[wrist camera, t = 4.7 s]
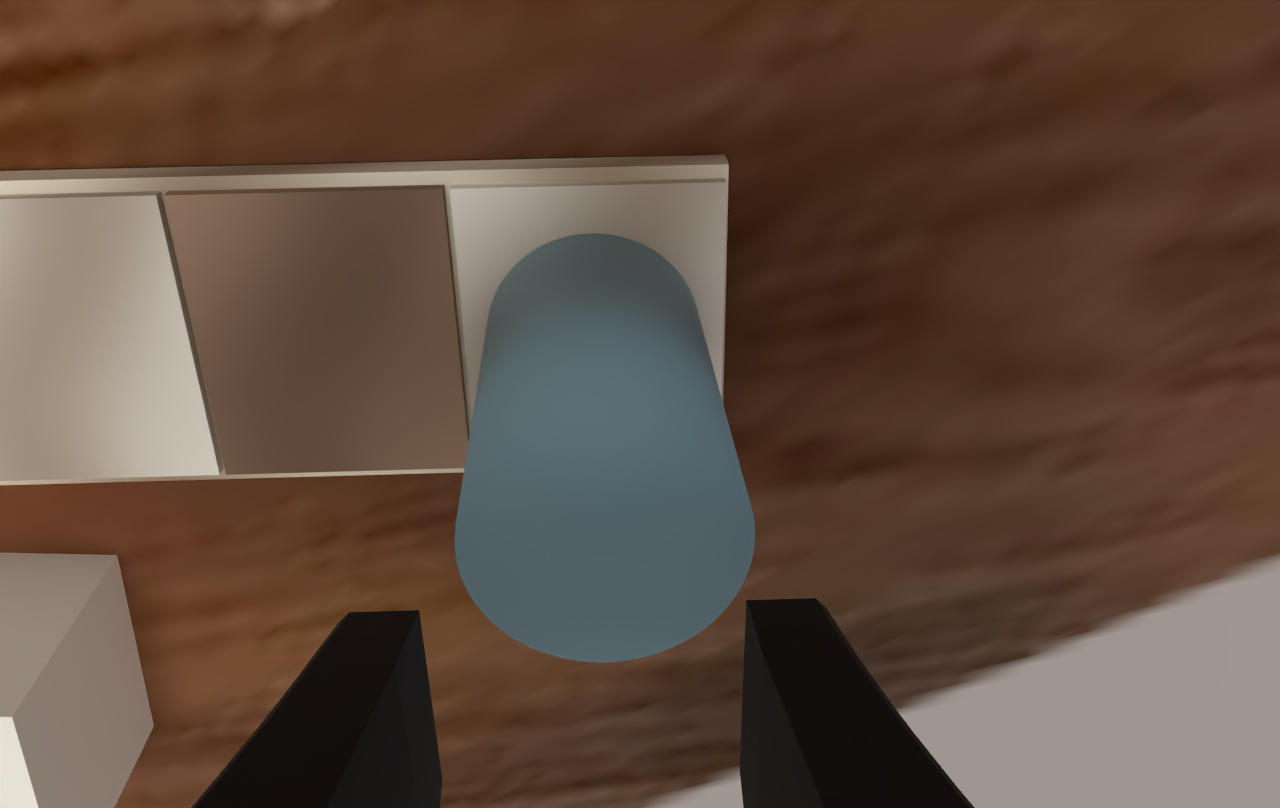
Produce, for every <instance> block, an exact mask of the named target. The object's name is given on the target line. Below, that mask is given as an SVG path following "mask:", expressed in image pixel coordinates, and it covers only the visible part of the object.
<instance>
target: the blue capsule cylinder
mask: <svg viewBox="0 0 1280 808" xmlns="http://www.w3.org/2000/svg"><path fill="white" fill-rule="evenodd" d="M454 545H455V554H456V561H457V565H458V569H459V573H460V576H461V578H462V581H463V583H464V585H465V588H466V590H467V592H468V593H469V595H470V596H471V598H472V600H473V601H474V603H475V604H476V606H477V607H478V608H479V609H480V610H481V612H482V613H483V614H484V615H485V616H486V618H488V619H489V620H490V621H491V622H492V623H493V624H494V625H495V626H496V627H497V628H499V629H500V630H501V631H503V632H504V633H506V634H507V635H508V636H510V637H511V638H513V639H514V640H516V641H518V642H520V643H522V644H524V645H526V646H528V647H530V648H532V649H535V650H537V651H540V652H542V653H545V654H548V655H552V656H555V657H559V658H563V659H568V660H575V661H581V662H597V663H603V662H620V661H627V660H634V659H639V658H643V657H647V656H651V655H654V654H657V653H660V652H663V651H665V650H668V649H671V648H673V647H675V646H677V645H679V644H681V643H683V642H685V641H687V640H689V639H690V638H692V637H693V636H695V635H696V634H698V633H699V632H701V631H703V630H704V629H705V628H706V627H707V626H709V625H710V624H711V623H712V622H713V621H715V620H716V619H717V618H718V617H719V616H720V615H721V614H722V613H723V612H724V610H725V609H726V608H727V607H728V606H729V605H730V603H731V602H732V601H733V599H734V598H735V596H736V595H737V594H738V592H739V590H740V588H741V586H742V585H743V583H744V581H745V579H746V576H747V574H748V571H749V568H750V565H751V562H752V557H753V552H754V547H755V524H754V515H753V511H752V508H751V504H750V500H749V497H748V493H747V489H746V486H745V482H744V478H743V475H742V471H741V468H740V464H739V460H738V457H737V453H736V449H735V446H734V442H733V438H732V435H731V431H730V427H729V424H728V420H727V416H726V413H725V409H724V405H723V402H722V398H721V394H720V391H719V387H718V384H717V380H716V376H715V373H714V369H713V365H712V362H711V358H710V354H709V351H708V347H707V343H706V340H705V336H704V332H703V329H702V325H701V321H700V318H699V314H698V310H697V307H696V303H695V300H694V298H693V295H692V293H691V291H690V288H689V287H688V285H687V284H686V282H685V280H684V279H683V277H682V276H681V275H680V273H679V272H678V271H677V270H676V269H675V267H674V266H673V265H672V264H670V263H669V262H668V261H667V260H666V259H665V258H664V257H662V256H661V255H660V254H658V253H657V252H655V251H654V250H652V249H650V248H649V247H647V246H645V245H643V244H641V243H638V242H636V241H633V240H630V239H628V238H624V237H619V236H615V235H608V234H580V235H574V236H568V237H565V238H561V239H558V240H555V241H552V242H550V243H548V244H545V245H543V246H541V247H539V248H538V249H536V250H534V251H533V252H531V253H529V254H528V255H527V256H526V257H524V258H523V259H522V260H521V261H519V262H518V263H517V264H516V265H515V266H514V267H513V268H512V269H511V270H510V271H509V273H508V274H507V275H506V277H505V278H504V280H503V281H502V282H501V284H500V286H499V288H498V290H497V291H496V293H495V296H494V298H493V301H492V304H491V306H490V311H489V316H488V321H487V327H486V333H485V340H484V346H483V353H482V359H481V365H480V372H479V378H478V385H477V391H476V398H475V404H474V410H473V417H472V423H471V430H470V436H469V442H468V449H467V455H466V462H465V468H464V475H463V481H462V487H461V494H460V500H459V507H458V513H457V519H456V526H455V542H454Z"/></svg>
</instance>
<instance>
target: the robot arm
mask: <svg viewBox="0 0 1280 808" xmlns="http://www.w3.org/2000/svg"><path fill="white" fill-rule="evenodd" d="M740 776H741V785H742V795H743V804H744V808H974V807H973V805H972V804H971V803H970V802H969V801H968V800H967V798H966V797H965V796H964V795H963V794H962V793H961V791H960V790H959V789H958V788H957V786H956V785H955V784H954V783H953V782H952V780H951V779H950V778H949V776H948V775H947V774H946V773H945V771H944V770H943V769H942V768H941V766H940V765H939V764H938V763H937V761H936V760H935V759H934V758H933V756H932V755H931V754H930V753H929V751H928V750H927V749H926V748H925V746H924V745H923V744H922V743H921V741H920V740H919V739H918V738H917V737H916V735H915V734H914V733H913V731H912V730H911V729H910V728H909V726H908V725H907V723H906V722H905V721H904V720H903V718H902V717H901V716H900V714H899V713H898V712H897V710H896V709H895V708H894V706H893V705H892V704H891V702H890V701H889V699H888V698H887V697H886V695H885V694H884V692H883V691H882V690H881V688H880V687H879V686H878V684H877V683H876V681H875V680H874V679H873V677H872V676H871V675H870V673H869V672H868V670H867V669H866V667H865V666H864V664H863V663H862V662H861V660H860V659H859V657H858V656H857V654H856V653H855V651H854V650H853V648H852V647H851V645H850V644H849V642H848V641H847V639H846V638H845V636H844V635H843V633H842V632H841V630H840V629H839V627H838V626H837V624H836V622H835V621H834V619H833V618H832V616H831V614H830V613H829V611H828V610H827V608H826V607H824V606H823V605H822V604H821V603H820V602H819V601H818V600H817V599H816V598H811V599H778V600H746V626H745V651H744V677H743V703H742V729H741V755H740ZM441 788H442V774H441V767H440V760H439V752H438V745H437V738H436V730H435V723H434V716H433V709H432V701H431V694H430V687H429V679H428V672H427V665H426V658H425V650H424V643H423V636H422V629H421V621H420V614H419V610H414V611H381V612H349V613H348V614H347V615H346V616H345V617H344V618H343V619H342V620H341V621H340V622H339V623H338V624H337V626H336V627H335V628H334V630H333V631H332V632H331V634H330V635H329V636H328V638H327V639H326V640H325V642H324V643H323V644H322V646H321V647H320V648H319V650H318V651H317V652H316V654H315V655H314V656H313V657H312V659H311V660H310V661H309V663H308V664H307V665H306V667H305V668H304V669H303V671H302V672H301V673H300V675H299V676H298V677H297V679H296V680H295V681H294V682H293V684H292V685H291V686H290V688H289V689H288V690H287V692H286V693H285V694H284V695H283V697H282V698H281V699H280V701H279V702H278V703H277V704H276V706H275V707H274V708H273V709H272V711H271V712H270V713H269V714H268V716H267V717H266V718H265V720H264V721H263V722H262V723H261V725H260V726H259V727H258V728H257V730H256V731H255V732H254V733H253V735H252V736H251V737H250V738H249V739H248V741H247V742H246V743H245V744H244V745H243V747H242V748H241V749H240V750H239V751H238V753H237V754H236V755H235V756H234V757H233V759H232V760H231V761H230V762H229V763H228V765H227V766H226V767H225V768H224V769H223V771H222V772H221V773H220V774H219V775H218V777H217V778H216V779H215V780H214V781H213V783H212V784H211V785H210V786H209V787H208V789H207V790H206V791H205V792H204V794H203V795H202V796H201V797H200V798H199V799H198V800H197V802H196V803H195V804H194V805H193V806H192V807H191V808H440V798H441Z"/></svg>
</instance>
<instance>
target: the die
mask: <svg viewBox="0 0 1280 808" xmlns="http://www.w3.org/2000/svg"><path fill="white" fill-rule="evenodd" d="M153 727H154V725H153V720H152V715H151V711H150V706H149V701H148V697H147V692H146V687H145V683H144V678H143V673H142V669H141V664H140V659H139V655H138V650H137V645H136V641H135V636H134V631H133V627H132V622H131V617H130V613H129V608H128V603H127V599H126V594H125V589H124V585H123V580H122V575H121V570H120V566H119V561H118V556H117V555H91V554H43V553H0V808H114V807H115V805H116V803H117V801H118V799H119V797H120V795H121V793H122V790H123V788H124V786H125V784H126V782H127V780H128V778H129V776H130V774H131V772H132V770H133V768H134V766H135V764H136V762H137V760H138V758H139V756H140V754H141V752H142V749H143V747H144V745H145V743H146V741H147V739H148V737H149V735H150V733H151V731H152V729H153Z"/></svg>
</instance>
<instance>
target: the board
mask: <svg viewBox="0 0 1280 808" xmlns="http://www.w3.org/2000/svg"><path fill="white" fill-rule="evenodd" d="M728 176H729V164H728V161H727V158H726V155H688V156H644V157H600V158H555V159H511V160H467V161H422V162H378V163H334V164H289V165H245V166H201V167H156V168H112V169H68V170H23V171H0V485H27V484H62V483H98V482H134V481H170V480H206V479H242V478H278V477H313V476H349V475H385V474H421V473H457V472H464V468H465V462H466V455H467V449H468V442H469V436H470V430H471V423H472V417H473V410H474V404H475V398H476V391H477V385H478V378H479V372H480V365H481V359H482V353H483V346H484V340H485V333H486V327H487V321H488V316H489V311H490V306H491V304H492V301H493V298H494V296H495V293H496V291H497V290H498V288H499V286H500V284H501V282H502V281H503V280H504V278H505V277H506V275H507V274H508V273H509V271H510V270H511V269H512V268H513V267H514V266H515V265H516V264H517V263H518V262H519V261H521V260H522V259H523V258H524V257H526V256H527V255H528V254H529V253H531V252H533V251H534V250H536V249H538V248H539V247H541V246H543V245H545V244H548V243H550V242H552V241H555V240H558V239H561V238H565V237H568V236H574V235H580V234H608V235H615V236H619V237H624V238H628V239H630V240H633V241H636V242H638V243H641V244H643V245H645V246H647V247H649V248H650V249H652V250H654V251H655V252H657V253H658V254H660V255H661V256H662V257H664V258H665V259H666V260H667V261H668V262H669V263H670V264H672V265H673V266H674V267H675V269H676V270H677V271H678V272H679V273H680V275H681V276H682V277H683V279H684V280H685V282H686V284H687V285H688V287H689V288H690V291H691V293H692V295H693V298H694V300H695V303H696V307H697V310H698V314H699V318H700V321H701V325H702V329H703V332H704V336H705V340H706V343H707V347H708V351H709V354H710V358H711V362H712V365H713V369H714V373H715V376H716V380H717V384H718V387H719V391H720V394H721V398H722V402H723V387H724V345H725V303H726V260H727V218H728Z"/></svg>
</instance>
